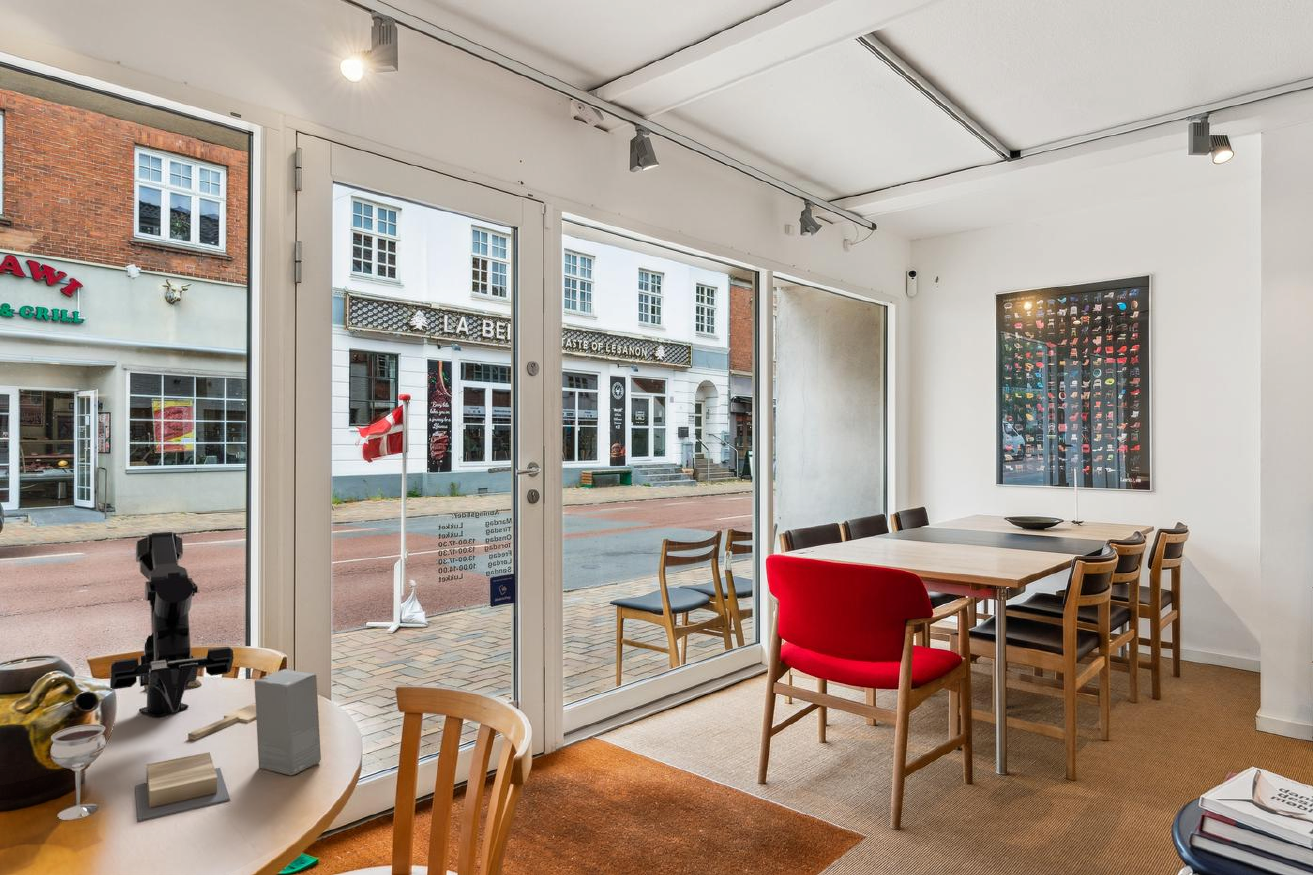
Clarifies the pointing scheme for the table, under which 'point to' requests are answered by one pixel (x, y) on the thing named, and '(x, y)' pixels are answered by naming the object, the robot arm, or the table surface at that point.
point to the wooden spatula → (226, 721)
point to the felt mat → (179, 806)
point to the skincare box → (287, 721)
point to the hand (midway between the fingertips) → (175, 710)
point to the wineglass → (78, 759)
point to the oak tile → (180, 779)
